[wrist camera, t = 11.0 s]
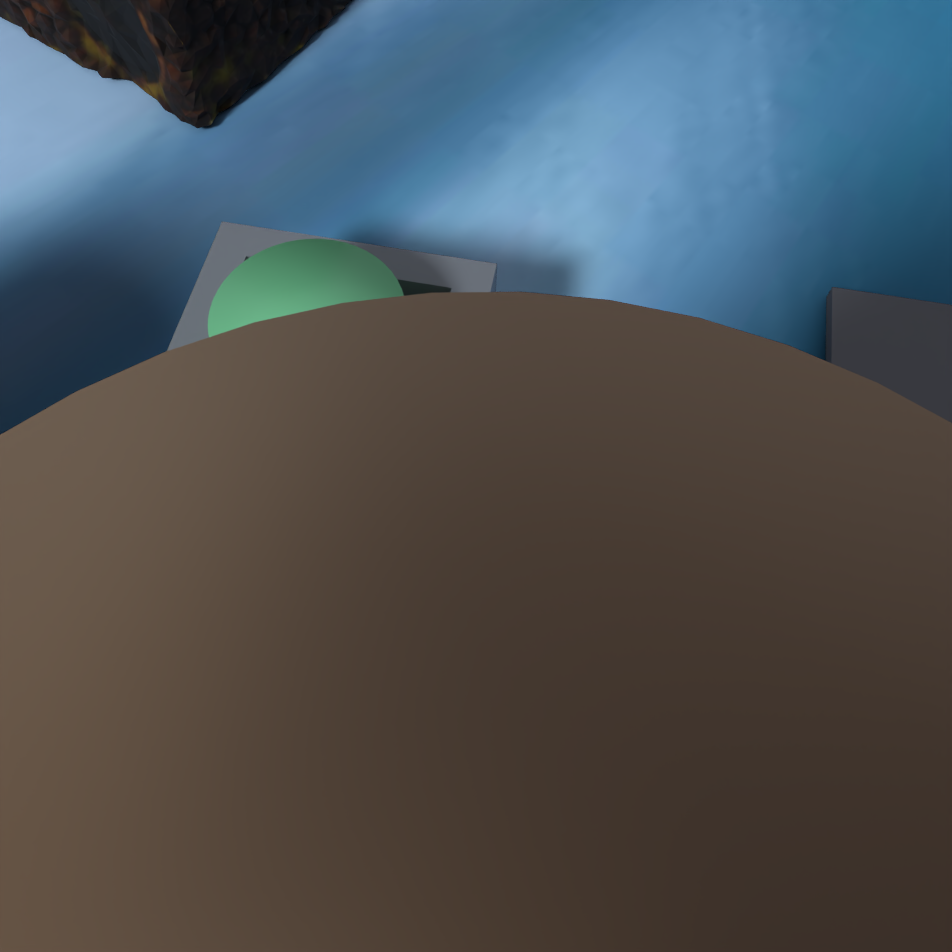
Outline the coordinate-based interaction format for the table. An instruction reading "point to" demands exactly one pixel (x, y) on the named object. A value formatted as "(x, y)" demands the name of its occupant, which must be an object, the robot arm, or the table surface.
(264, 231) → the grey square box
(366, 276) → the button
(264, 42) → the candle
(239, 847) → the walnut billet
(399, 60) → the table surface
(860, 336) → the rubber mat
